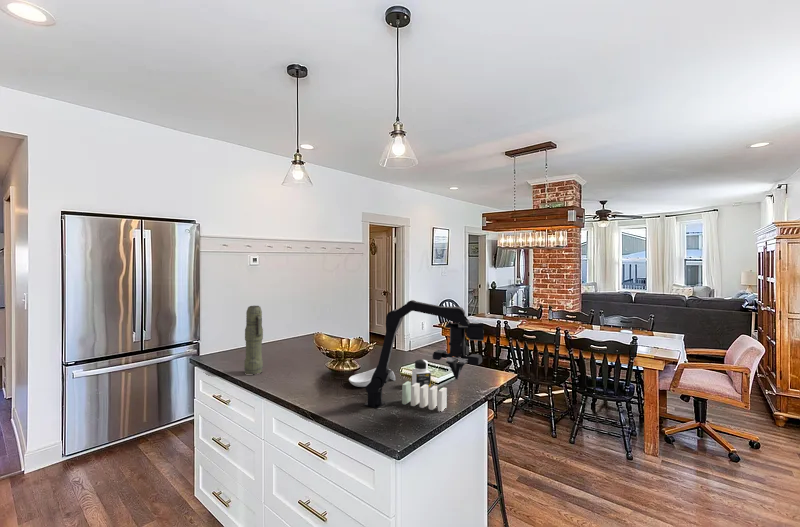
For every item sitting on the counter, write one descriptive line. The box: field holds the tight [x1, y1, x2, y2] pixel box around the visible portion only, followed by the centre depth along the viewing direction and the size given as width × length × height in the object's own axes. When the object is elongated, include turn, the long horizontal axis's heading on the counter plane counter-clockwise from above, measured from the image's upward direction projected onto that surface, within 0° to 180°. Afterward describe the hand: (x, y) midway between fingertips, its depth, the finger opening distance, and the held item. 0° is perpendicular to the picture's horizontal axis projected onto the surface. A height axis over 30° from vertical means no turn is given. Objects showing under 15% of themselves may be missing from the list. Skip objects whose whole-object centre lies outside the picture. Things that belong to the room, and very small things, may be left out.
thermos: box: [243, 305, 264, 374], centre depth 201 cm, size 9×12×35 cm
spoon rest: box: [348, 367, 396, 388], centre depth 186 cm, size 24×12×7 cm, turn 122°
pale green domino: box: [401, 380, 412, 406], centre depth 161 cm, size 2×5×8 cm, turn 152°
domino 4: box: [437, 387, 448, 413], centre depth 153 cm, size 2×5×8 cm, turn 150°
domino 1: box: [410, 383, 420, 407], centre depth 159 cm, size 2×5×8 cm, turn 152°
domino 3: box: [428, 385, 438, 411], centre depth 155 cm, size 2×5×8 cm, turn 152°
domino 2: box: [419, 384, 429, 409], centre depth 157 cm, size 2×5×8 cm, turn 152°
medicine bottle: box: [411, 359, 432, 388], centre depth 183 cm, size 7×7×12 cm
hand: (456, 379), depth 150 cm, fingers closed
